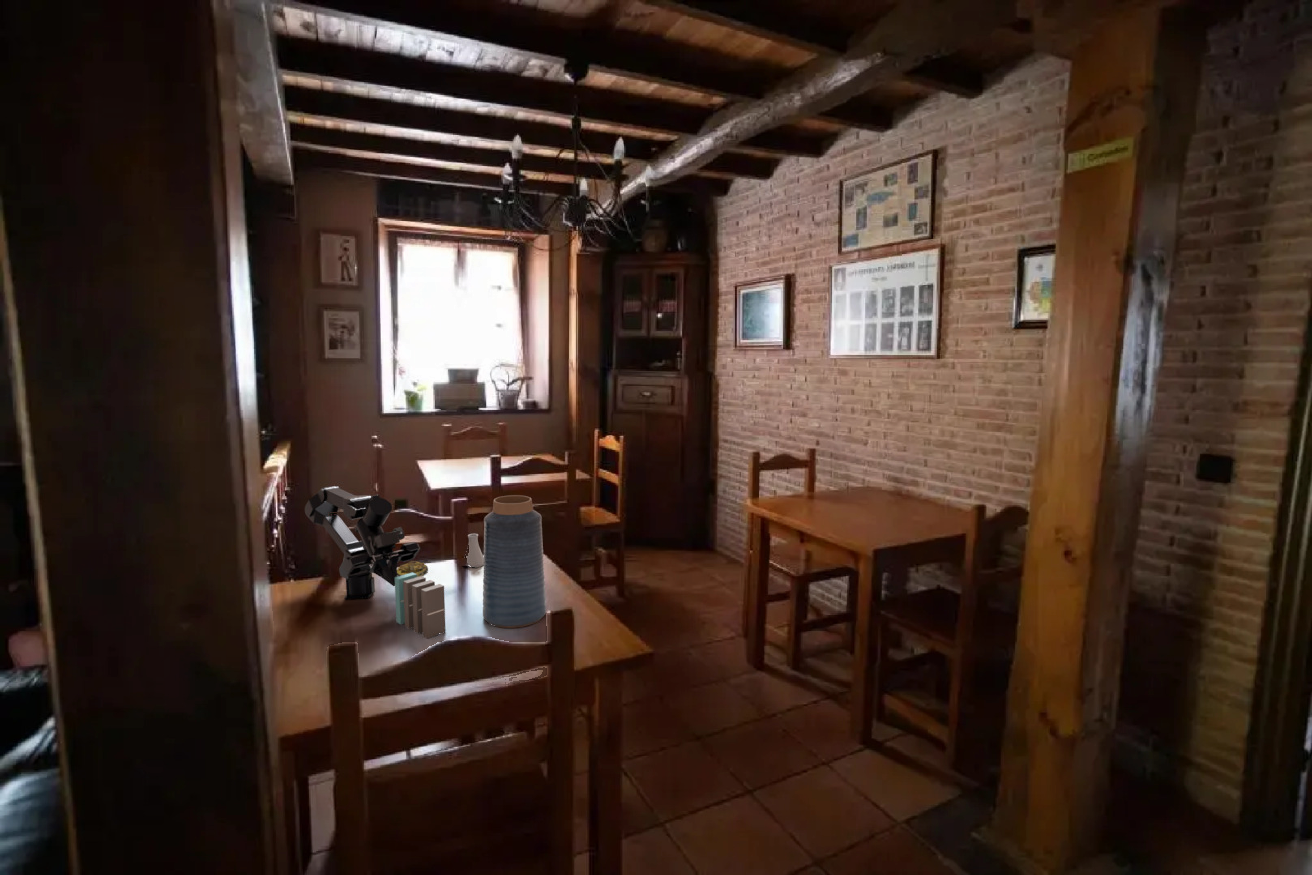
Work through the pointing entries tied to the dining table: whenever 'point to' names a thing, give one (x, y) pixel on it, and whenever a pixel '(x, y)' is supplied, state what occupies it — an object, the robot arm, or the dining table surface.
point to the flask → (474, 552)
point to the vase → (513, 564)
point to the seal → (412, 568)
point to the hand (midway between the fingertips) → (395, 585)
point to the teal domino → (401, 596)
